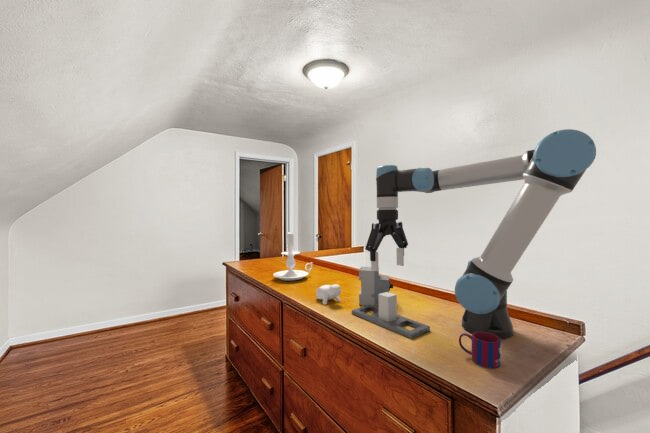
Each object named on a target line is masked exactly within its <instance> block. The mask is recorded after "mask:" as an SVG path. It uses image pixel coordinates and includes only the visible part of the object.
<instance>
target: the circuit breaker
mask: <svg viewBox="0 0 650 433" xmlns="http://www.w3.org/2000/svg"><path fill="white" fill-rule="evenodd" d="M379 268H380V267H379V266H378V269H379ZM358 280H359V281H360V290H359V292H358V293H359V294H358V306H367V305H372V306H375V307H379V299H378V294H381V293H385V292H389V293H390V291H391V289H394V283H391V281H390V275H380V272H379V271H374V270H371V266H360V268H359V272H358Z"/></svg>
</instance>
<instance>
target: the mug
mask: <svg viewBox="0 0 650 433" xmlns="http://www.w3.org/2000/svg"><path fill="white" fill-rule="evenodd" d="M464 336H465V337H468V338H469V339H470V340H471V350H469V349H467V348H465V347H464V346H463V344H462V337H464ZM501 340H502V338H499V337H498V336H496V335H494V334H491V333H488V332H474V333H471V334H469V333H465V332H464V333H461V334H460V335H459V337H458V343H459V344H458V345H459V347H460V348H461V350H463V351H464V352H465V353H466V354H469V355H470V356H471V360H472V362H473V363H474V364H476V365H477V366H478V367H479V366H480V367H482V368H486V369H498V368H499V367H501V348H502V347H501V346H502V345H501Z"/></svg>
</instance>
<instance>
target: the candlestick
mask: <svg viewBox="0 0 650 433" xmlns="http://www.w3.org/2000/svg"><path fill="white" fill-rule="evenodd" d="M286 233H287V234H286V238H287V240H286V241H287V242H286V244H287V249H288V250H287V251H283V252H281V253H280V254H281V255H284V256H287V258H286V261H285V264H286V267H287V268H288V270H280V271H276V272H274V273H273V277H276V278H277V279H278V280H282V281H288V282H289V281H297V280H301V279H303V278H305V277H306V276H308V275H309V274H310V273H311V270H312V269H313V264H314V262H312V261H311V262H307V263H306V264H305V266H304V267H305V270H306V271H305V270H299V269H294V268H295V266H296V262H297V261H296V259H295V258H294V257H295V256H296V255H298V254H301V252H300V251H297V250H296V251H294V250H295V234H294V232H291V231H290V232H286ZM308 265H310V268H308V267H307V266H308Z"/></svg>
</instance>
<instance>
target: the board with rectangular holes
mask: <svg viewBox="0 0 650 433" xmlns="http://www.w3.org/2000/svg"><path fill="white" fill-rule="evenodd" d="M369 311H370V312H373V313H372V314H369V313H366V312H369ZM351 315H353V316H355V317H359V318H360V319H363V320H365V321H368V322H370V323H373V324H376V325H377V326H379V327H382V328H385V329H387V330H389V331H391V332H394V333H396V334H398V335H401V336H404V337H406V338H407V339H411V340H412V339H414V338H417V337H419V336H422V335H423V334H427V333H428V332H430V331H431V326H430V325H427V324H424V323H422V322H419V321H416V320H413V319H410V318H408V317H405V316H402V315H401V314H400V315H399V314H397V319H396V320H393V321H391V322H387V321H384V320H382V319H379V306H372V305H363V306H361V307H357V308H354V309H351ZM406 325H407V326H408V327H412V328H413V329H412V330H410V329H407V328H404V326H406Z"/></svg>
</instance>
